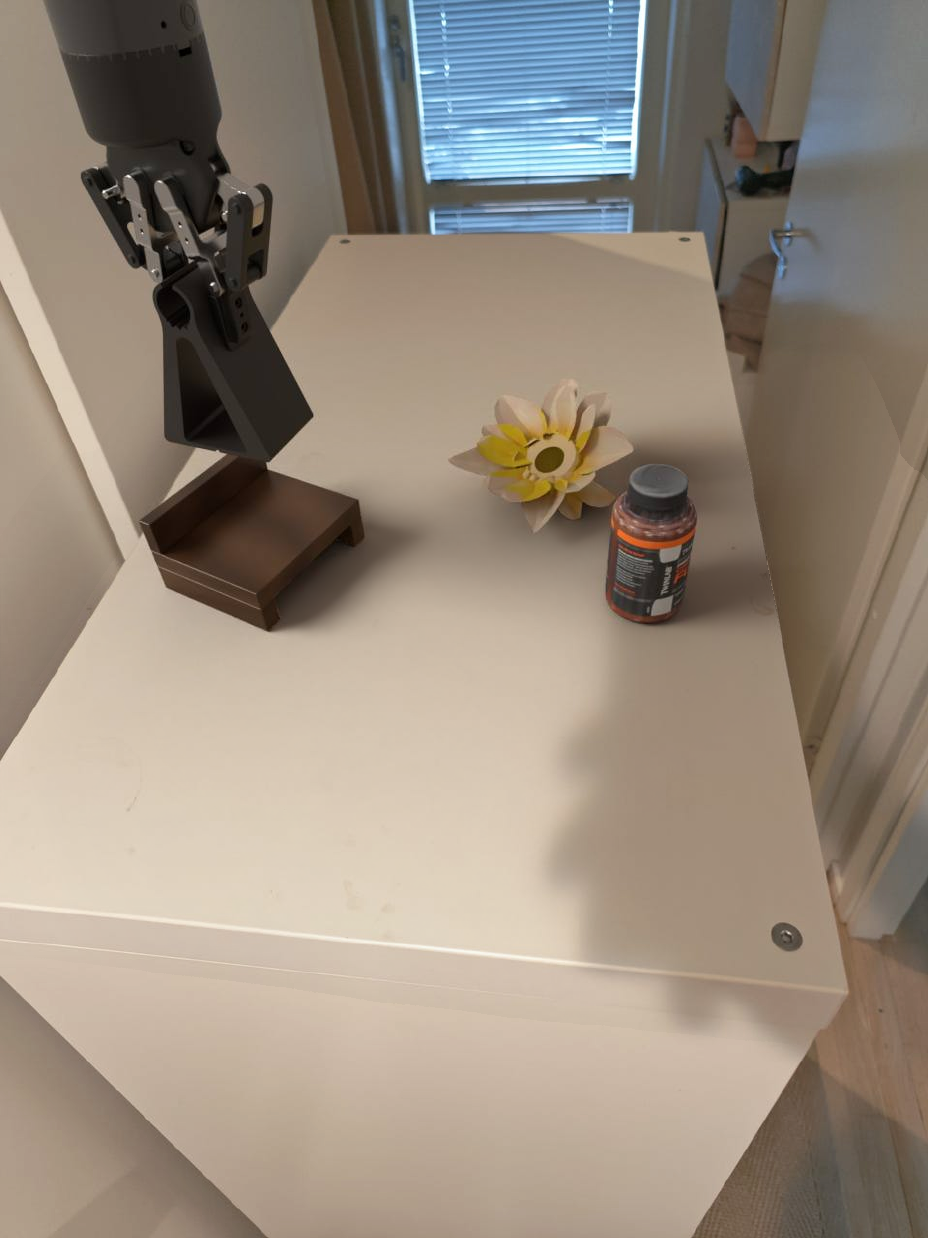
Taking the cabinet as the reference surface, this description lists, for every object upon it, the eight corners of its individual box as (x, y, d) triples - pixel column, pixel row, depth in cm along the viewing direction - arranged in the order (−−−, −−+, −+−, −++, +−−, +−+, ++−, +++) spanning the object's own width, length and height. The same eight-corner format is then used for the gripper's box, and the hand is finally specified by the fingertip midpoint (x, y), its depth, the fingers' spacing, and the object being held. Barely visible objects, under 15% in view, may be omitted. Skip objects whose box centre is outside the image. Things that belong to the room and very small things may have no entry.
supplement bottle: (683, 630, 63) (705, 508, 55) (602, 624, 64) (613, 503, 56) (681, 576, 67) (702, 456, 59) (605, 571, 68) (616, 452, 60)
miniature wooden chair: (268, 632, 65) (246, 563, 60) (165, 587, 70) (138, 520, 65) (365, 536, 73) (353, 468, 68) (267, 502, 77) (249, 436, 72)
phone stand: (165, 441, 61) (107, 275, 53) (213, 399, 65) (166, 239, 57) (271, 463, 58) (227, 293, 50) (314, 419, 62) (281, 253, 54)
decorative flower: (424, 458, 78) (443, 356, 71) (522, 442, 83) (548, 346, 77) (516, 554, 69) (546, 447, 63) (618, 529, 75) (656, 429, 68)
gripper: (-16, 38, 45) (99, 342, 57) (176, 55, 40) (259, 387, 52) (93, 10, 50) (178, 297, 62) (279, 22, 44) (333, 335, 56)
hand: (215, 337), depth 57 cm, fingers closed on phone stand, 3 cm apart
